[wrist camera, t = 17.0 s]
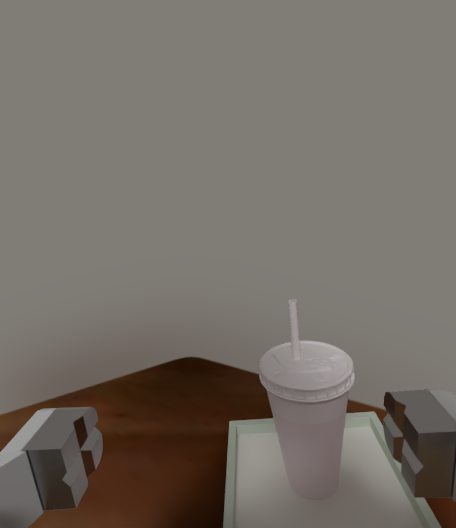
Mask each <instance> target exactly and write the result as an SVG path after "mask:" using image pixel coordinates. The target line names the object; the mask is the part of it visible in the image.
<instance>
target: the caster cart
mask: <svg viewBox="0 0 456 528" xmlns="http://www.w3.org/2000/svg"><path fill="white" fill-rule="evenodd" d="M401 465H402V464H401V463H399V462H398V461H396V460H395V459H394V458H393V457H392V455H391V453H390V451H389V449H388V446H387V444H386V441H385V436H384V429H383V426H382V424H381V422H380V421H379V419H378V417H377V415H376V414H375V412H361V413H346V417H345V426H344V436H343V445H342V454H341V464H340V473H339V482H338V487H337V489H336V491H335V492H334V493H333V494H332V495H331V496H329V497H328V498H325V499H321V500H312V499H308V498H305V497H302V496H301V495H299V494H298V493H296V492H295V491H294V490H293V489H292V487H291V486H290V484H289V481H288V477H287V473H286V468H285V464H284V460H283V456H282V452H281V448H280V443H279V439H278V435H277V431H276V427H275V422H274V418H270V419H254V420H239V421H229V438H228V454H227V471H226V488H225V504H224V521H223V528H441V526H440V524H439V522H438V521H437V519H436V517H435V516H434V514H433V512H432V510H431V509H430V507H429V505H428V503H427V502H426V500H425V498H415V497H414V496H413V494H412V492H411V490H410V488H409V487H408V485H407V483H406V481H405V479H404V477H403V476H402V474H401Z"/></svg>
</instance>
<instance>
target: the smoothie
mask: <svg viewBox="0 0 456 528" xmlns="http://www.w3.org/2000/svg"><path fill="white" fill-rule="evenodd" d="M288 303H289V304H288V306H289V318H290V331H291V342H287V343H283V344H280V345H277V346H275V347H273V348H271V349H269V350H268V351H267V352H266V353H264V355H263V356H262V357H261V359H260V361H259V369H260V374H259V378H260V381H261V384H262V385H263V386H264V387H265V388H266V389H267V393H268V398H269V402H270V406H271V410H272V414H273V418H274V422H275V427H276V431H277V435H278V439H279V443H280V448H281V452H282V456H283V460H284V464H285V468H286V473H287V477H288V481H289V484H290V486H291V487H292V489H293V490H294V491H295V492H296V493H298V494H299V495H301V496H302V497H305V498H308V499H312V500H321V499H325V498H328V497H329V496H331V495H332V494H333V493H334V492H335V491H336V489H337V487H338V482H339V473H340V464H341V454H342V445H343V436H344V426H345V417H346V408H347V400H348V391H349V389H350V388H351V386H352V385H353V384H354V378H355V375H354V372H353V362H352V360H351V358H350V356H349V355H348V354H347V353H346V352H344V351H343V350H341V349H339V348H337V347H335V346H333V345H330V344H327V343H322V342H316V341H299V328H298V314H297V301H296V300H295V299H291V300H289V301H288Z"/></svg>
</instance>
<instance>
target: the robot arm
mask: <svg viewBox="0 0 456 528" xmlns="http://www.w3.org/2000/svg"><path fill="white" fill-rule="evenodd" d="M384 406H385V408H386V410H387V411H388V415H387V416H386V417H385V418H384V419H383V429H384V436H385V441H386V444H387V446H388V449H389V451H390V453H391V455H392V457H393V458H394V459H395V460H396V461H398V462H399V463H401V464H402V465H401V474H402V476H403V477H404V479H405V481H406V483H407V485H408V487H409V488H410V490H411V492H412V494H413V496H414V497H415V498H452V500H454V501H455V502H456V397H455V396H454V395H453V394H452V393H451V392H450V391H449V390H447V389H445V388H435V389H424V390H415V391H399V392H386V393H385V396H384ZM97 420H98V417H97V413H96V410H95V409H94V408H92V407H76V408H49V409H41V410H38V411H37V412H36V413H35V414H34V415H33V416H32V418H31V419H30V420H29V421H28V422H27V423H26V424H25V425H24V427H23V428H22V429H21V430H20V431H19V432H18V433H17V434H16V436H15V437H14V438H13V439H12V440H11V441H10V442H9V443H8V444H7V446H6V447H5V448H4V449H3V450H2V451H1V452H0V528H28V527H29V526H30V525H31V524H32V523H33V522H34V521H35V520H36V519H37V518H38V517H39V516H40V515H41V514H42V513H43V511H45V510H60V509H76V508H77V506H78V504H79V502H80V500H81V498H82V496H83V494H84V492H85V490H86V488H87V486H88V482H87V477H88V476H89V475H90V474H91V473H92V472H94V471H95V470H96V468H97V466H98V464H99V462H100V459H101V454H102V450H103V440H102V435H101V432H100V431H99V430H98V429H97V428H96V427H95V424H96V422H97Z"/></svg>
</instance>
